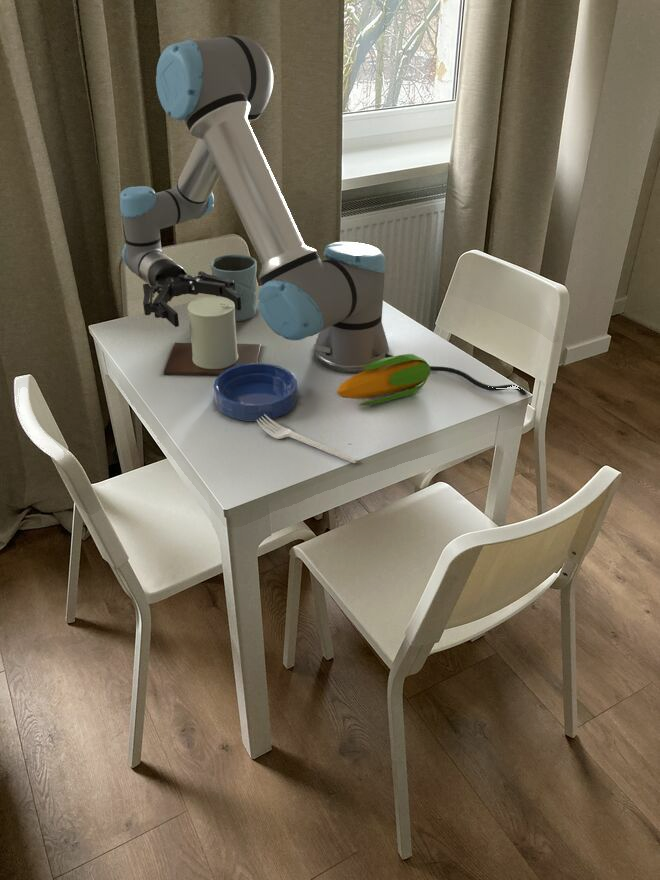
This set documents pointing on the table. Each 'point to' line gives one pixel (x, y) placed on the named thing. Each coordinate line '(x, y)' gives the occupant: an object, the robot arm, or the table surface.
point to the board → (184, 365)
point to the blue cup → (239, 280)
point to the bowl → (255, 391)
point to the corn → (387, 379)
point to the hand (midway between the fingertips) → (208, 311)
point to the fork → (298, 438)
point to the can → (213, 332)
